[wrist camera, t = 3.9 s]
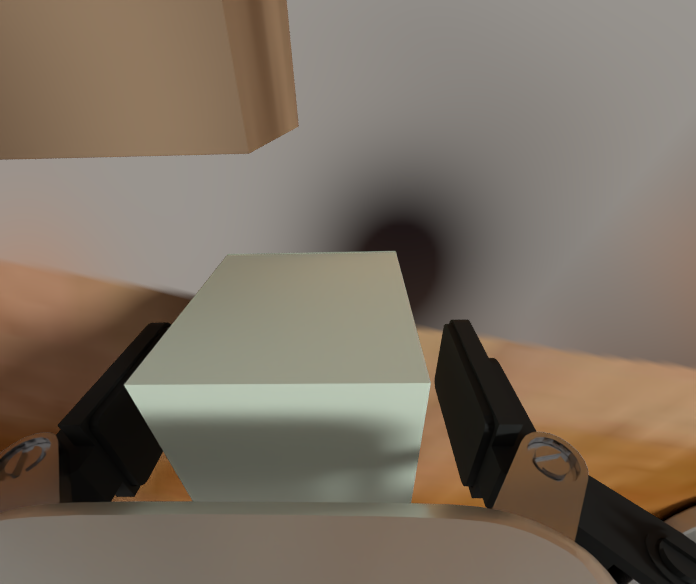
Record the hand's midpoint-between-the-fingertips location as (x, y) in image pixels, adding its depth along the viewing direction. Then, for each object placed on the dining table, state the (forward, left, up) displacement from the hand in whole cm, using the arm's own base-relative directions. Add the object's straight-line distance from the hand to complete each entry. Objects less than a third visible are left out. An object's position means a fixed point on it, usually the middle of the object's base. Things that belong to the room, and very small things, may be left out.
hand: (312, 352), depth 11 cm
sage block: (0, 0, -2) cm, 2 cm away
